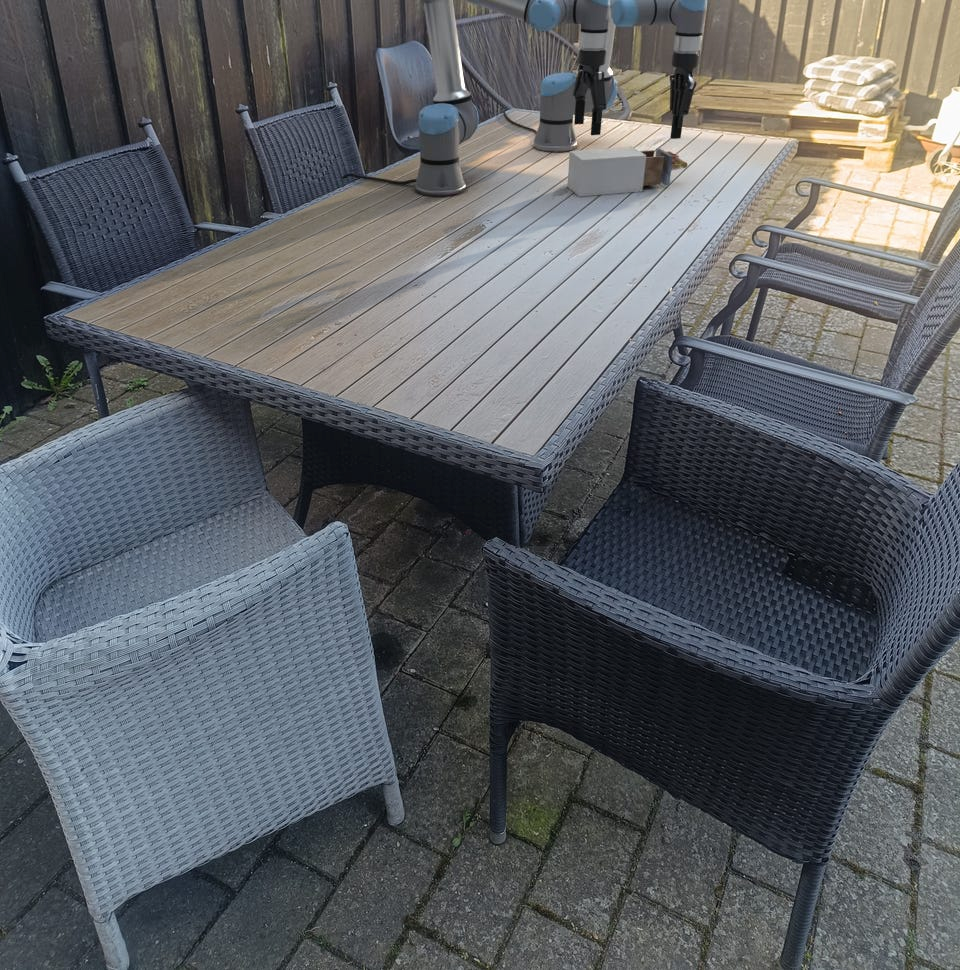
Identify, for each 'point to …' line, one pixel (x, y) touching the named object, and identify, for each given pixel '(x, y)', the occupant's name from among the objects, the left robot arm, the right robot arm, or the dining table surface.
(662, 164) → the drawer
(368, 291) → the dining table surface
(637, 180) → the grey rectangular block
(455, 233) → the dining table surface
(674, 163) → the dental model
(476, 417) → the dining table surface
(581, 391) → the dining table surface
